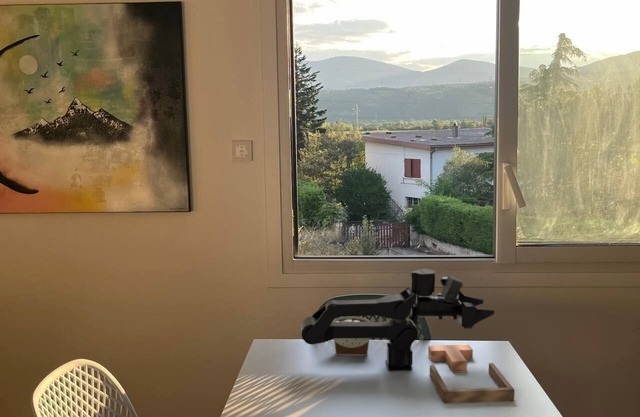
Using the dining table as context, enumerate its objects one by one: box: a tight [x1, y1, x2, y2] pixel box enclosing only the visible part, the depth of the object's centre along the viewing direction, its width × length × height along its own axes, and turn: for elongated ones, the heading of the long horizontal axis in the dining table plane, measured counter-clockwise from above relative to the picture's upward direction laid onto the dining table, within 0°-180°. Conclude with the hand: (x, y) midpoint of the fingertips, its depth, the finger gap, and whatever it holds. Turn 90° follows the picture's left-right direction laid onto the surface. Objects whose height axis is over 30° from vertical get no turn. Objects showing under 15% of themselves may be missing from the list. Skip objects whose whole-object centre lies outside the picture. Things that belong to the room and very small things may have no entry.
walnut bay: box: [429, 362, 515, 404], centre depth 158 cm, size 17×16×3 cm
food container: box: [333, 316, 371, 356], centre depth 184 cm, size 12×6×10 cm, turn 84°
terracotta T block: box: [427, 344, 474, 373], centre depth 174 cm, size 12×12×3 cm
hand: (488, 306), depth 172 cm, fingers open, 9 cm apart
